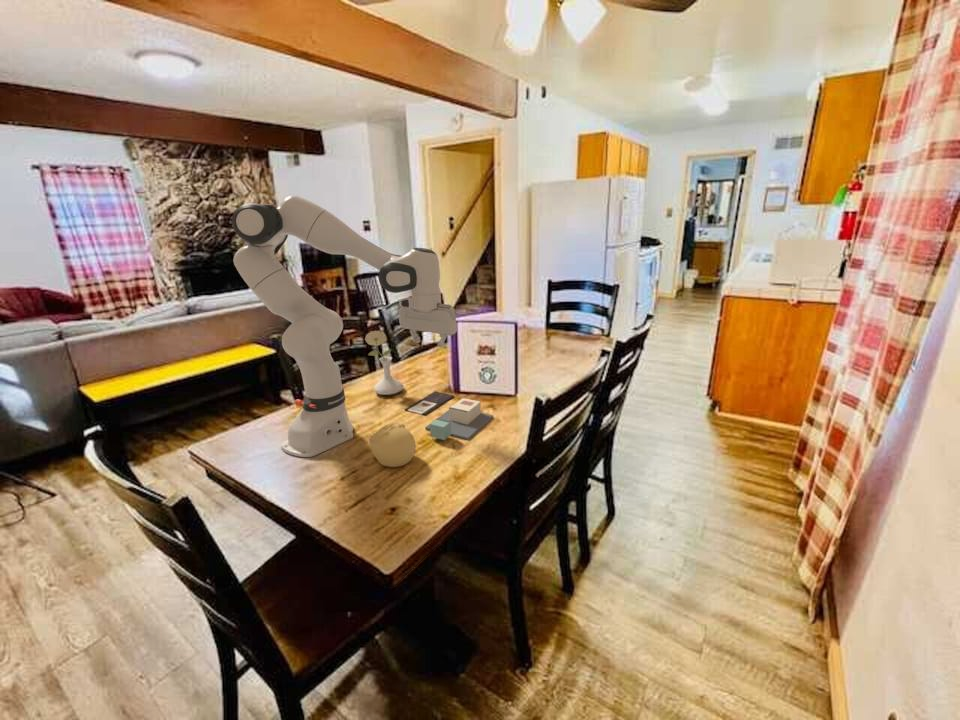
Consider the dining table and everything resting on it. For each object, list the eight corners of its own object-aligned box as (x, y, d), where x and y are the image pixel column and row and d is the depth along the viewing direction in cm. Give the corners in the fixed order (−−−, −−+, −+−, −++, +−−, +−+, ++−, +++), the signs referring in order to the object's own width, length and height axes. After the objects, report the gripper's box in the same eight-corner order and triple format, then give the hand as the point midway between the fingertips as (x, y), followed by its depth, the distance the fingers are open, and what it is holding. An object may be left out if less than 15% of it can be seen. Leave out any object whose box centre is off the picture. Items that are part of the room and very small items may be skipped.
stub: (444, 440, 133) (443, 426, 131) (430, 436, 135) (429, 423, 134) (451, 434, 136) (450, 421, 135) (438, 431, 138) (437, 418, 137)
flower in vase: (406, 386, 177) (401, 326, 169) (399, 397, 166) (393, 334, 158) (375, 385, 178) (368, 326, 170) (366, 397, 168) (358, 334, 160)
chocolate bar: (454, 395, 166) (424, 414, 151) (454, 397, 166) (425, 416, 152) (435, 391, 170) (404, 409, 156) (435, 393, 170) (405, 411, 156)
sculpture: (397, 445, 133) (393, 413, 129) (424, 458, 125) (421, 425, 122) (366, 462, 124) (361, 428, 121) (393, 477, 117) (389, 441, 114)
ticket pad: (468, 440, 135) (467, 424, 133) (425, 429, 142) (424, 414, 140) (493, 417, 149) (492, 403, 147) (453, 408, 156) (452, 395, 154)
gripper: (460, 303, 133) (461, 346, 138) (407, 297, 143) (410, 337, 147) (449, 307, 128) (450, 352, 132) (394, 300, 137) (397, 342, 142)
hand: (428, 344), depth 140 cm, fingers open, 8 cm apart
